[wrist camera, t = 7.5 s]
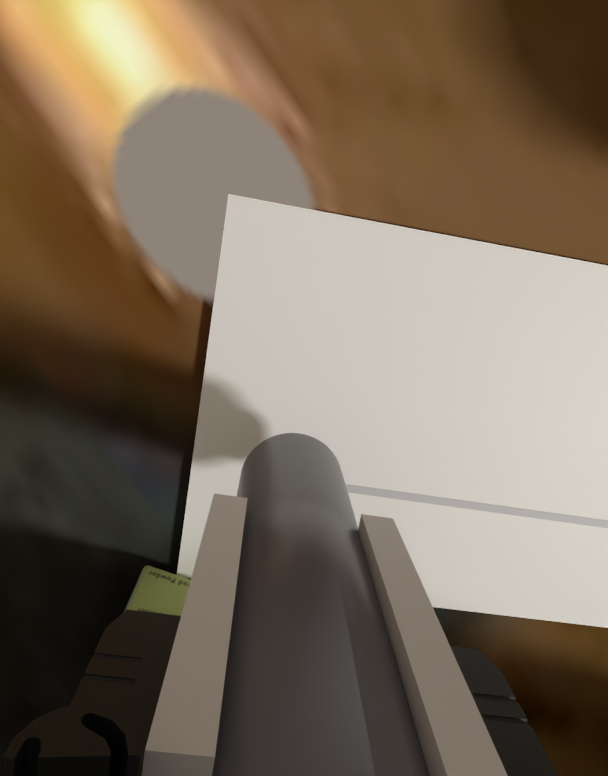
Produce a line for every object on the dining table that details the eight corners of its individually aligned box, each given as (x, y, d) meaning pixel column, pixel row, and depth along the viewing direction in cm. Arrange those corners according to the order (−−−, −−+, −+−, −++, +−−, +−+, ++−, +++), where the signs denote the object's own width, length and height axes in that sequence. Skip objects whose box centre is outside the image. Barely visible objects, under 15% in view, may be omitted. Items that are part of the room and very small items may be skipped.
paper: (177, 572, 21) (176, 576, 20) (228, 194, 18) (228, 193, 17) (654, 629, 23) (660, 634, 22) (774, 297, 20) (783, 298, 19)
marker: (233, 507, 18) (54, 1479, 4) (246, 411, 18) (87, 1160, 3) (331, 519, 19) (524, 1470, 4) (349, 426, 18) (663, 1174, 3)
